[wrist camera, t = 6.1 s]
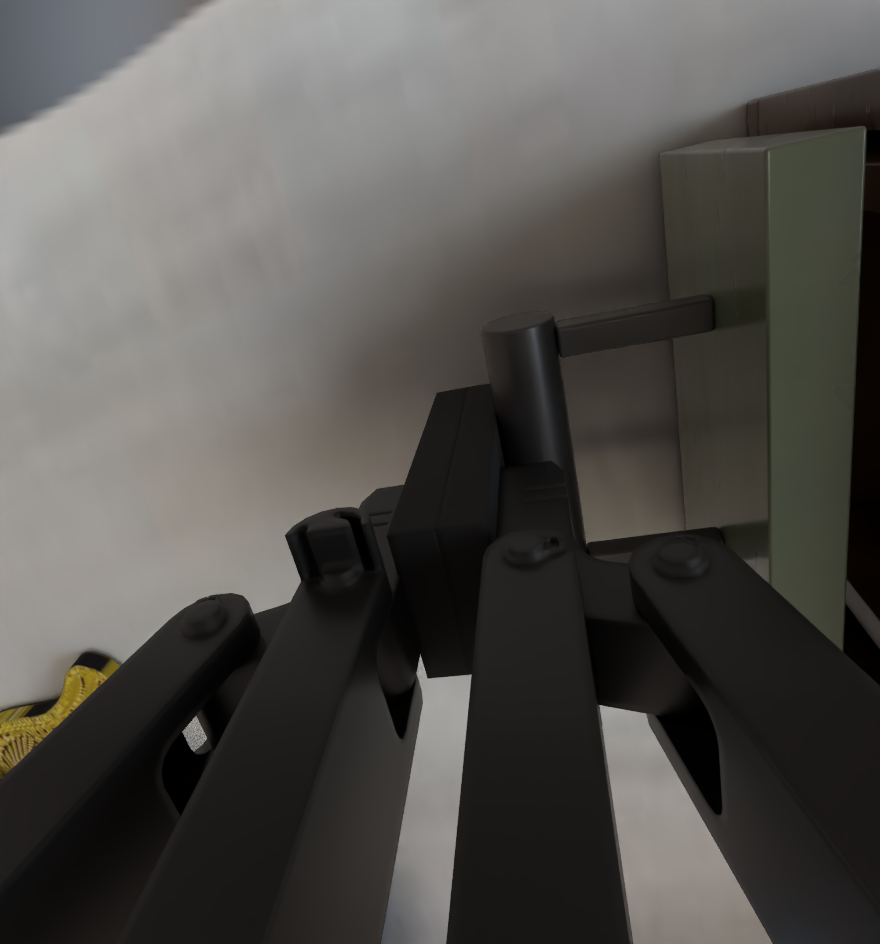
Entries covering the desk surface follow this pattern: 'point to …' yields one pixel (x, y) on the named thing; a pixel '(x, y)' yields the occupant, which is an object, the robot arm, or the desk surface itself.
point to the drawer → (747, 364)
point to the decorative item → (50, 709)
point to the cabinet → (876, 107)
